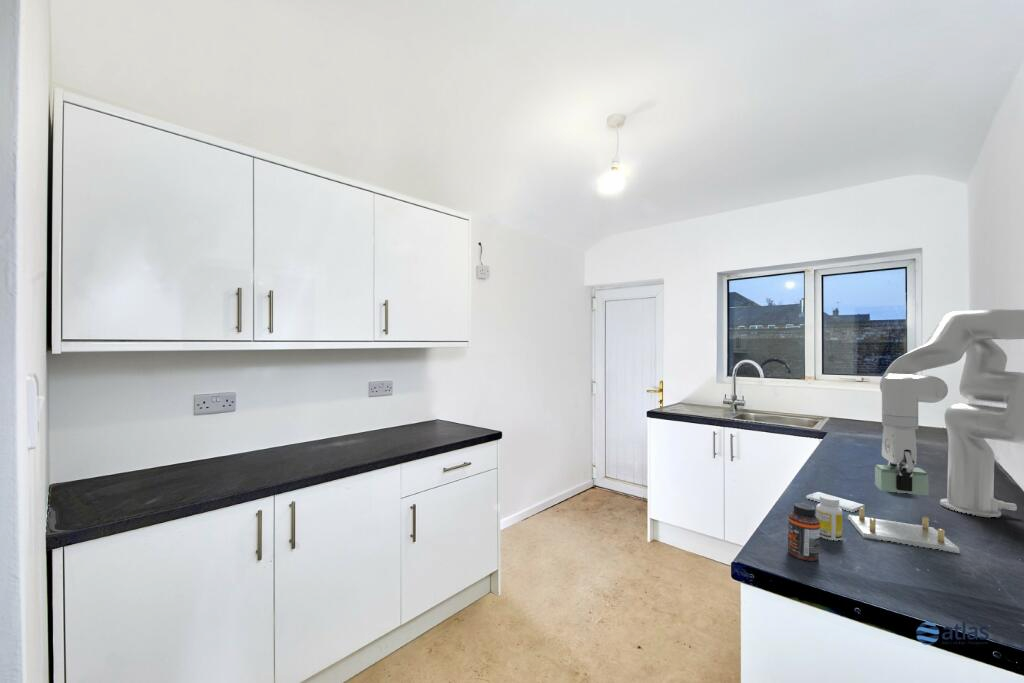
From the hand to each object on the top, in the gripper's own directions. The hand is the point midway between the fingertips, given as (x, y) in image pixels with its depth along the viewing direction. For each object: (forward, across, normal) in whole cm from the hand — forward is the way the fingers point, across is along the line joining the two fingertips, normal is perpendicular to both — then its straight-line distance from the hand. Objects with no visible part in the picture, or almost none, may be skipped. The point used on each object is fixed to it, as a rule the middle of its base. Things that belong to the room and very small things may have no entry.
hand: (899, 486), depth 121 cm
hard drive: (+10, -8, -13) cm, 18 cm away
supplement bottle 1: (+8, +37, -29) cm, 48 cm away
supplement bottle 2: (+9, +22, -21) cm, 32 cm away
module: (+1, 0, 0) cm, 1 cm away
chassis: (+9, +12, -4) cm, 16 cm away
